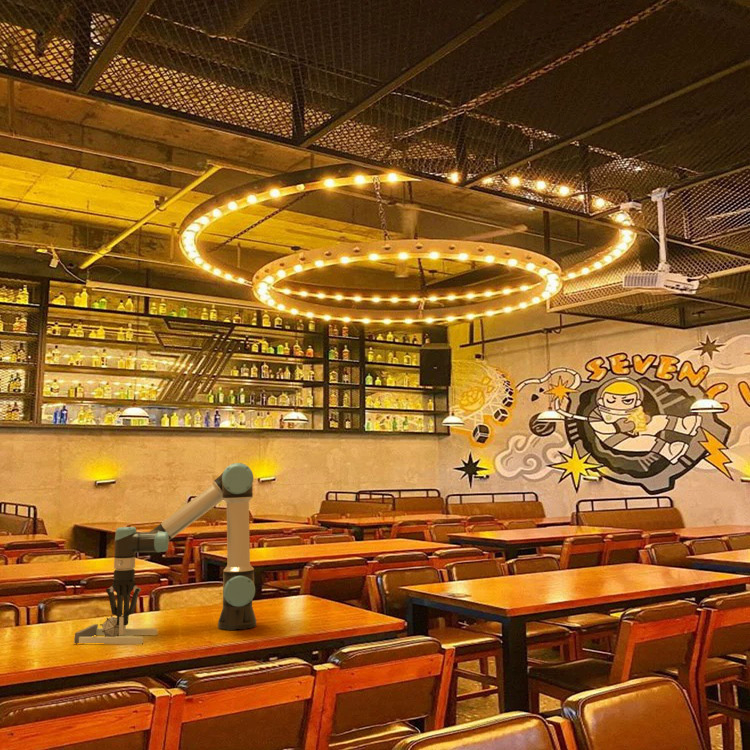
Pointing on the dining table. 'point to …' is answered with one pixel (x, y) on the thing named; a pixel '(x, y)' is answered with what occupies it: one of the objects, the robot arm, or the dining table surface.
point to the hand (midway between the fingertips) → (122, 634)
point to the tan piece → (92, 630)
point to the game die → (110, 627)
